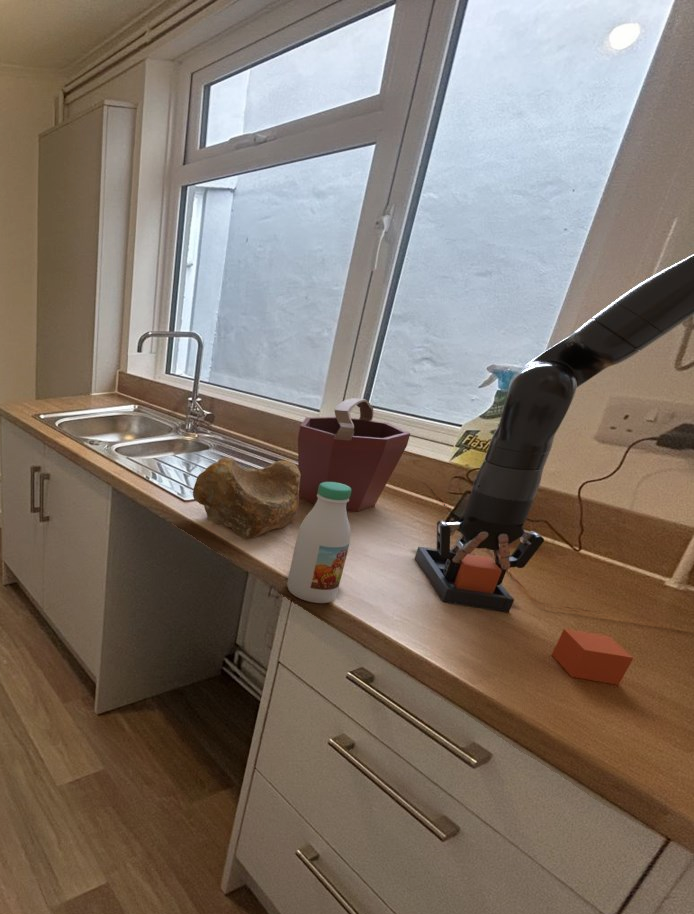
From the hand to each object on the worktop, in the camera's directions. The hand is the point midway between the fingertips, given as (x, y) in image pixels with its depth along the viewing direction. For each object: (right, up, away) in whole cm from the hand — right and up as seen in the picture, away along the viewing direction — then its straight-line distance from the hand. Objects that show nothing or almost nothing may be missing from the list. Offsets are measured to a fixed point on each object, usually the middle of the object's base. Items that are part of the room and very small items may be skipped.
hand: (470, 582), depth 90 cm
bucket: (+2, +15, +43) cm, 46 cm away
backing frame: (+1, -1, +4) cm, 5 cm away
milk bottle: (-27, -2, +2) cm, 27 cm away
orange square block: (0, 0, 0) cm, 0 cm away
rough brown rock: (-27, +8, +27) cm, 39 cm away
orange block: (+1, -10, -17) cm, 20 cm away
